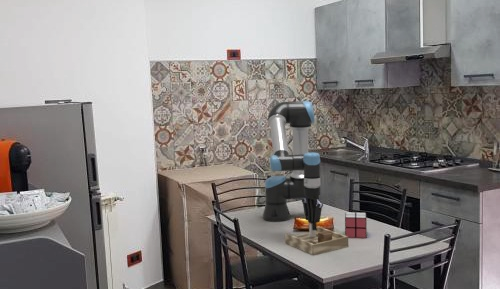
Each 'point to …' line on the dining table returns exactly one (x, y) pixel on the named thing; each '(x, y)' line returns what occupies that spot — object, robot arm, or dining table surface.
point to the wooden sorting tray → (312, 243)
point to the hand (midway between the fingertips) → (312, 236)
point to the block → (324, 236)
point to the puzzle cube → (355, 225)
